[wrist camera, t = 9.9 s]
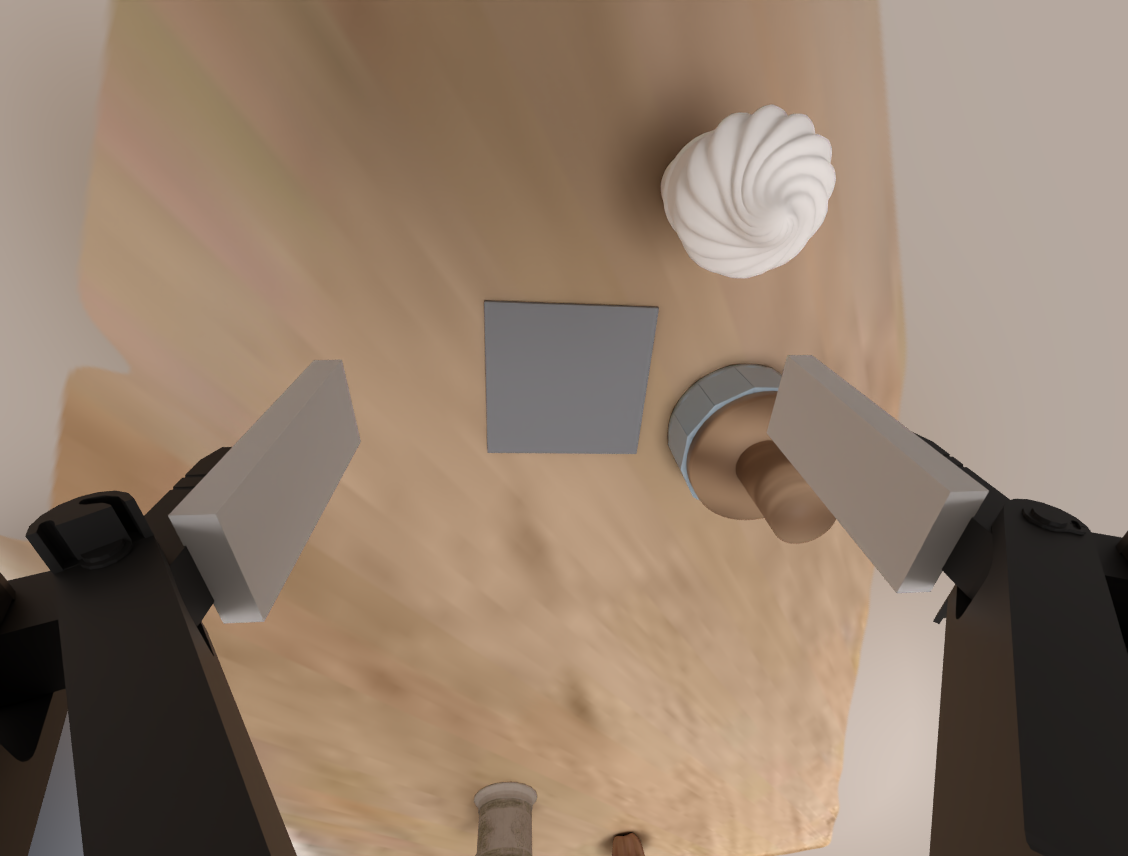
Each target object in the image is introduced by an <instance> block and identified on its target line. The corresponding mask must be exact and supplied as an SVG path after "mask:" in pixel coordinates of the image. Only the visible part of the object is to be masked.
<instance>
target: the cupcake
mask: <svg viewBox="0 0 1128 856" xmlns="http://www.w3.org/2000/svg"><path fill="white" fill-rule="evenodd" d="M612 856H645V855H644V851H643V847H642V844H641V841H640V840H639V838H638V837H636V836H635V834H633V833H630V834H628V835H626V836H616V837H615V838H614V840H613V850H612Z"/></svg>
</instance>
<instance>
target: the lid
mask: <svg viewBox="0 0 1128 856" xmlns="http://www.w3.org/2000/svg"><path fill="white" fill-rule="evenodd" d="M777 393H778V391H762V392H756V393H752V394H748V395H745V396H742V397H740V398H737V399H735V400H733V401H731V402H729V403H727V404H726V405H724V406H723V407H721V408H720V409H718V410H717V411H716V412H715V413H713V414H712V415H711V416H710V417H709V418H708V419H707V420H706V421H705V422H704V423H703V424H702V426H701V427H700V428H699V429H698V431H697V433H696V434H695V436H694V438H693V440H692V442H691V444H690V447H689V450H688V454H687V461H686V467H687V474H688V478H689V481H690V483H691V485H692V487H693V489H694V491H695V493H696V495H697V497H698V498H699V500H700V501H701V502H702V503H703V505H705V506H706V507H707V508H708V509H709V510H711V511H712V512H714V513H716V514H718V515H720V516H723V517H727V518H730V519H737V520H754V519H761V518H765V520H766V521H767V523H768V524H769V526H770V527H771V529H772V530H773V532H774V533H775V535H776V536H777V537H778V538H779V539H780V540H782V541H784V542H787V543H792V544H800V543H805V542H809V541H812V540H814V539H816V538H818V537H820V536H821V535H823V534H824V533H825V532H827V531H828V530H829V529H830V528H831V526H832V525H833V524H834V522H835V520H836V518H835V517H834V515H833V514H832V513H831V512H830V510H829V509H828V508H827V507H826V506H825V504H824V503H823V502H822V501H821V499H820V498H819V497H818V496H817V494H816V493H815V492H814V491H813V490H812V488H811V487H810V486H809V485H808V483H807V482H806V481H805V480H804V478H803V477H802V476H801V475H800V474H799V472H798V471H797V470H796V469H795V467H794V466H793V465H792V464H791V462H790V461H789V460H788V459H787V458H786V456H785V455H784V454H783V453H782V451H781V450H780V449H779V448H778V446H777V445H776V444H775V443H774V442H773V440H772V439H771V438H770V437H769V435H768V434H767V430H768V426H769V422H770V419H771V415H772V411H773V407H774V404H775V400H776V396H777Z"/></svg>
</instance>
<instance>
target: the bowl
mask: <svg viewBox="0 0 1128 856" xmlns="http://www.w3.org/2000/svg"><path fill="white" fill-rule="evenodd" d="M781 378H782V374H780V373H779V372H777V371H775V370H774V369H772V368H769V367H766V366H762V365H757V364H738V365H732V366H728V367H724V368H721V369H719V370H716V371H714V372H712V373H710V374H708V375H706V376H704V377H703V378H701V379H700V380H698V381H697V382H696V383H695V384H693V385H692V386H691V387H690V388H689V389H688V390H687V391H686V392H685V393H684V394H683V396H682V397H681V398H680V400H679V401H678V403H677V404H676V406H675V408H674V410H673V412H672V415H671V417H670V421H669V426H668V446H669V448H670V450H671V452H672V454H673V456H674V458H675V461H676V463H677V465H678V467H679V469H680V471H681V473H682V475H683V477H684V479H685V481H686V483H687V485H688V487H689V489H690V491H691V493H692V496H693V497H694V498H696V499H698V500H699V498H698V497H697V495H696V493H695V491H694V489H693V487H692V485H691V483H690V481H689V478H688V474H687V467H686V461H687V454H688V450H689V447H690V444H691V442H692V440H693V438H694V436H695V434H696V433H697V431H698V429H699V428H700V427H701V426H702V424H703V423H704V422H705V421H706V420H707V419H708V418H709V417H710V416H711V415H712V414H713V413H715V412H716V411H717V410H718V409H720V408H721V407H723V406H724V405H726V404H727V403H729V402H731V401H733V400H735V399H737V398H740V397H742V396H745V395H748V394H752V393H756V392H762V391H778V389H779V385H780V381H781Z"/></svg>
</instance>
